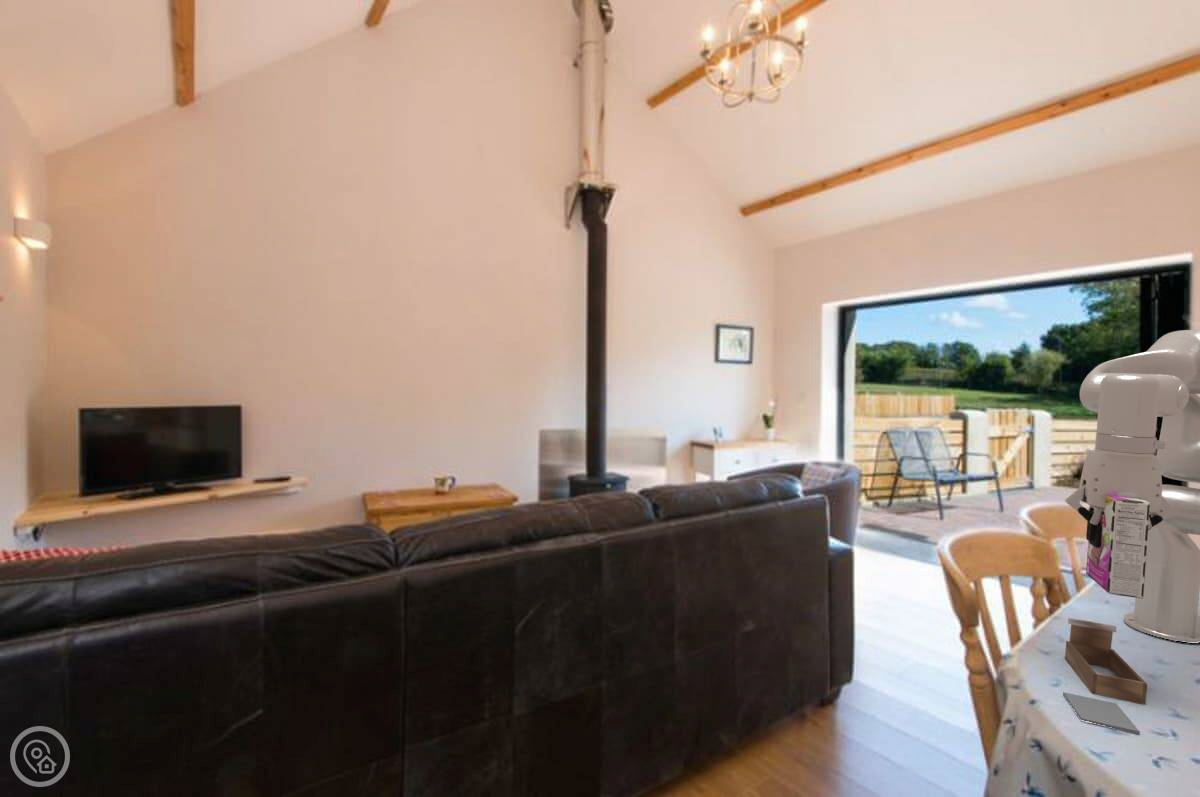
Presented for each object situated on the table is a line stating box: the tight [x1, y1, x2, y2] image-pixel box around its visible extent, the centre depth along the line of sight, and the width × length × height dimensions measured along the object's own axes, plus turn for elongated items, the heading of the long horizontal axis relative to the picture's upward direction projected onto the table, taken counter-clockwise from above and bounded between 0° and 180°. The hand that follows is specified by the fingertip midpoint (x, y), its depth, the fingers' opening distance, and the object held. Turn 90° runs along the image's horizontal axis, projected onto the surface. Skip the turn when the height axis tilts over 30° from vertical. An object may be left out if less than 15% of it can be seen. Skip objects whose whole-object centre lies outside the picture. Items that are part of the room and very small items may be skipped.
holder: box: [1064, 617, 1148, 705], centre depth 100 cm, size 7×13×8 cm, turn 156°
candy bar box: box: [1085, 496, 1150, 599], centre depth 99 cm, size 11×5×16 cm, turn 155°
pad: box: [1062, 691, 1141, 736], centre depth 90 cm, size 7×8×1 cm
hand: (1115, 546), depth 99 cm, fingers closed on candy bar box, 5 cm apart
